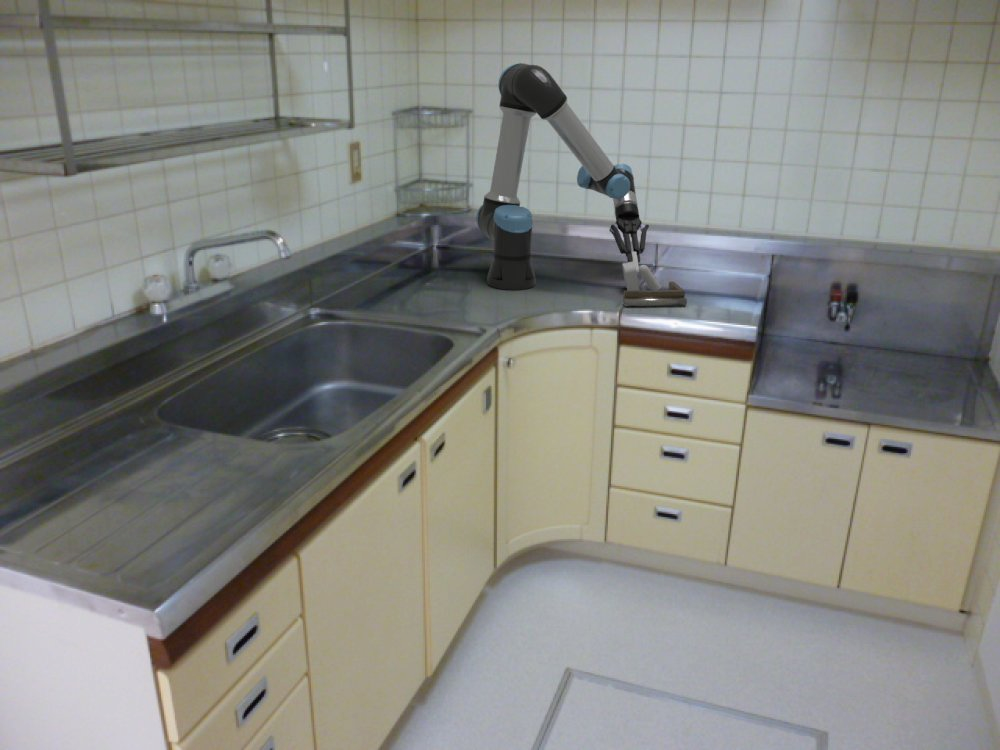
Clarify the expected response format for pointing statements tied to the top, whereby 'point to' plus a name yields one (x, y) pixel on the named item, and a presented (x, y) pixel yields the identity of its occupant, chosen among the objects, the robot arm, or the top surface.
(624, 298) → the hinge bracket
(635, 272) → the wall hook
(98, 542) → the top surface
